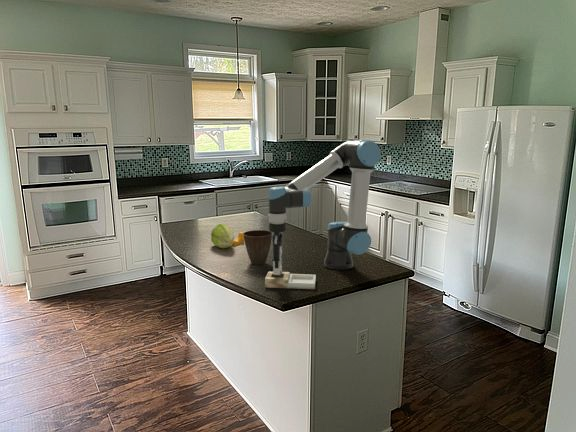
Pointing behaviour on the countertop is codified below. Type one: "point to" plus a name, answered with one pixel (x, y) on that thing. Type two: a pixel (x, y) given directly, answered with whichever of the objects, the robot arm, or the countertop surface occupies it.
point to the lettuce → (222, 236)
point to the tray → (302, 281)
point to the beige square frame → (277, 280)
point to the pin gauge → (280, 265)
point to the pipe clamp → (238, 239)
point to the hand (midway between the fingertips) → (277, 272)
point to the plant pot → (258, 245)
